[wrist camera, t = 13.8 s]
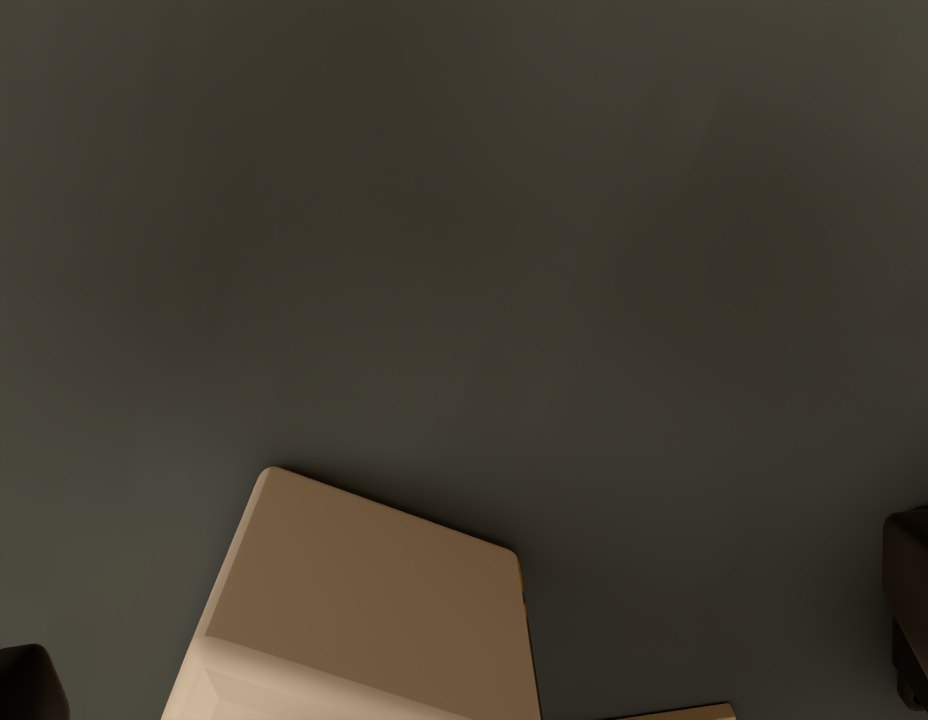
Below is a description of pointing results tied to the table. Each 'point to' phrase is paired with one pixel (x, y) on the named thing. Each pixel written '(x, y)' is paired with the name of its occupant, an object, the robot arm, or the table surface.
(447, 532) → the medicine bottle
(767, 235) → the table surface
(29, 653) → the robot arm
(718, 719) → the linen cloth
